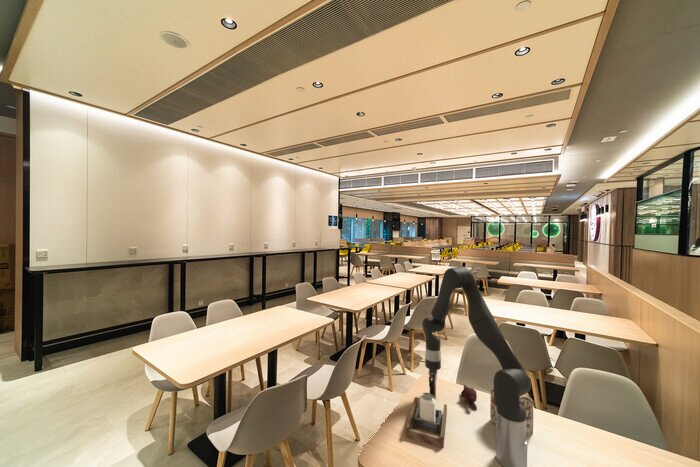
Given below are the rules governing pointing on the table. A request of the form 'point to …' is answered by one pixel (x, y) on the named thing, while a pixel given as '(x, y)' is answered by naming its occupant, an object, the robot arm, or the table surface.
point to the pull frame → (428, 424)
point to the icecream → (469, 395)
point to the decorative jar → (524, 401)
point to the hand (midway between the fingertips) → (432, 392)
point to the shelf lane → (421, 435)
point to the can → (427, 407)
